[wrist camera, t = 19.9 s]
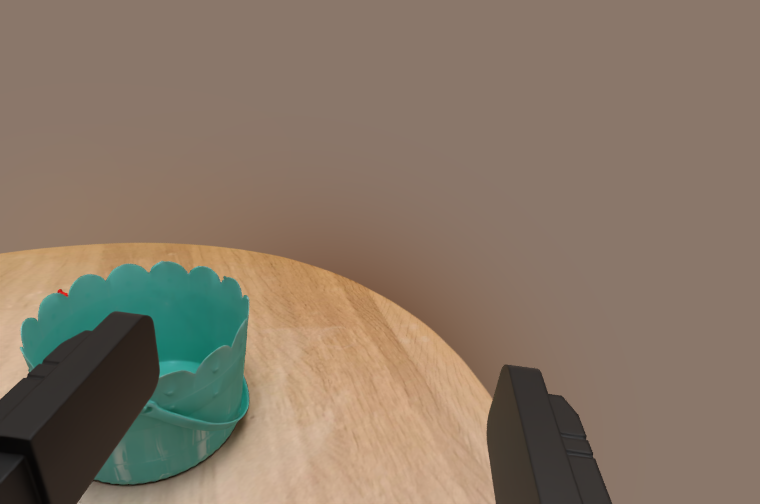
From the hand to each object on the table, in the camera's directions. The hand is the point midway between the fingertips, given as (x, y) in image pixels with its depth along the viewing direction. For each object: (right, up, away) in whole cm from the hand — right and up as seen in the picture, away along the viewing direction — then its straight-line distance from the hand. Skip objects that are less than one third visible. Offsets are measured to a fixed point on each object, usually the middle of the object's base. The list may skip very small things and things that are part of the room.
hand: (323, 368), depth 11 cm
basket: (-21, -14, +39) cm, 46 cm away
